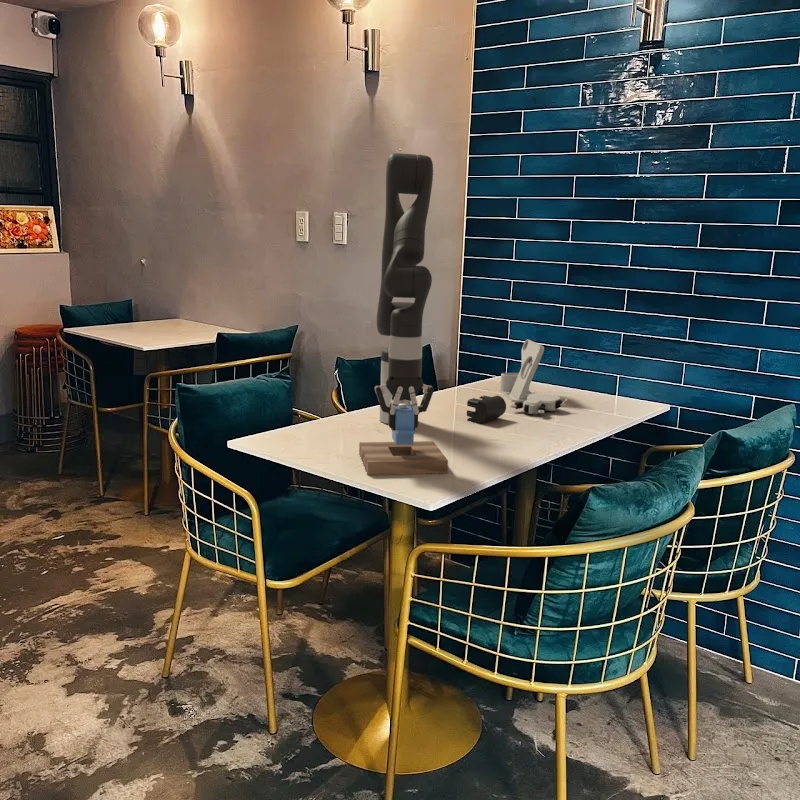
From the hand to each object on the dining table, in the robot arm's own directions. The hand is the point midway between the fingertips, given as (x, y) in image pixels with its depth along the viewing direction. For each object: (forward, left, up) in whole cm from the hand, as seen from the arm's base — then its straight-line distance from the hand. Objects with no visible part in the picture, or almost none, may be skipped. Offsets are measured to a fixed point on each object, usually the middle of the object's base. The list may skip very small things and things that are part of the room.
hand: (403, 429), depth 183 cm
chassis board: (0, 0, -8) cm, 8 cm away
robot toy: (-50, +50, -9) cm, 71 cm away
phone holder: (-71, +51, -9) cm, 88 cm away
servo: (0, 0, -3) cm, 3 cm away
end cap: (-40, +31, -9) cm, 51 cm away
